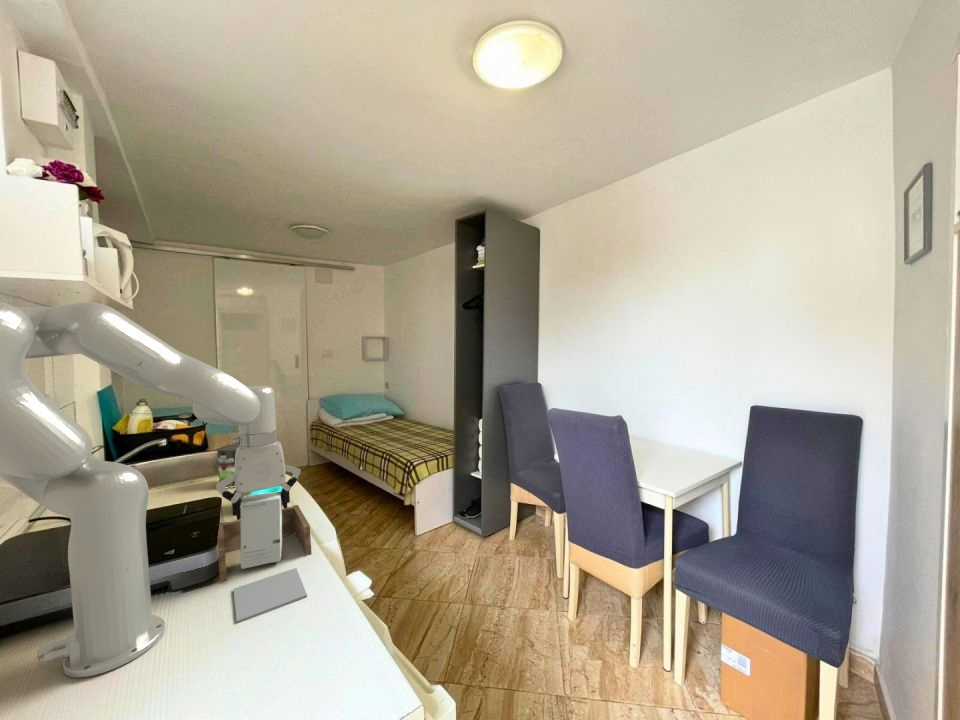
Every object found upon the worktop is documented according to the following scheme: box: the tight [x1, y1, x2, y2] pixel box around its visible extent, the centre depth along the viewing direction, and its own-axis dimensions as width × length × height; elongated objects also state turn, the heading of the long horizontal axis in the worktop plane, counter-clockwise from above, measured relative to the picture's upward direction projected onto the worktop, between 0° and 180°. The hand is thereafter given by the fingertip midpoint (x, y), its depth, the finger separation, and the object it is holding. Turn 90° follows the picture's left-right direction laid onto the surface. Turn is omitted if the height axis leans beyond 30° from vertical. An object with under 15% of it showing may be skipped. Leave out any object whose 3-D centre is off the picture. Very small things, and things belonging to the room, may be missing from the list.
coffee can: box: [216, 443, 240, 488], centre depth 147 cm, size 10×10×14 cm
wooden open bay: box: [217, 504, 312, 584], centre depth 95 cm, size 18×16×7 cm
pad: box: [232, 567, 308, 624], centre depth 79 cm, size 12×12×1 cm
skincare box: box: [240, 492, 283, 570], centre depth 91 cm, size 8×6×15 cm
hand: (262, 511), depth 91 cm, fingers closed on skincare box, 9 cm apart
